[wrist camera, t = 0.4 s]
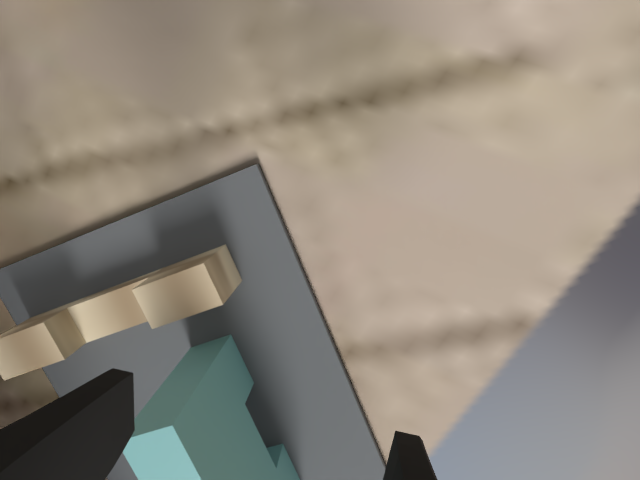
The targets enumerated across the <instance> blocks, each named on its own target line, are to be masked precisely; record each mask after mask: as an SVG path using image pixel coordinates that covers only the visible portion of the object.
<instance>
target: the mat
mask: <svg viewBox="0 0 640 480" xmlns="http://www.w3.org/2000/svg"><path fill="white" fill-rule="evenodd" d="M225 244H226V246H227V248H228V250H229V252H230V255H231V257H232V259H233V261H234V263H235V266H236V268H237V270H238V272H239V274H240V277H241V279H242V282H241V283H240V284H239V285H238V287H237V288H236V289H235V290H234V292H233V293H232V294H231V295H230V297H229V298H228V299H227V300H226V302H225V303H224V304H223V305H221V306H218V307H215V308H212V309H209V310H206V311H203V312H201V313H198V314H195V315H192V316H189V317H186V318H183V319H180V320H178V321H175V322H172V323H169V324H166V325H163V326H160V327H157V328H154V329H152V328H151V326H150V324H149V322H148V321H147V322H144V323H142V324H139V325H136V326H133V327H130V328H127V329H124V330H122V331H119V332H116V333H113V334H110V335H107V336H105V337H102V338H99V339H96V340H93V341H90V342H87V343H86V344H84V345H83V346H82V347H80V348H79V349H78V350H76V351H75V352H74V353H73V354H71V355H70V356H69V357H67V358H66V359H65V360H62V361H59V362H56V363H53V364H51V365H48V366H45V367H42V369H43V371H44V372H45V374H46V376H47V377H48V379H49V381H50V382H51V384H52V386H53V387H54V389H55V391H56V392H57V394H58V396H59V398H60V397H62V396H64V395H66V394H67V393H69V392H71V391H73V390H74V389H76V388H78V387H80V386H81V385H83V384H85V383H87V382H88V381H90V380H92V379H94V378H95V377H97V376H99V375H101V374H103V373H104V372H106V371H108V370H110V369H112V368H114V369H119V370H123V371H128V372H132V373H133V378H134V419H135V418H136V417H137V415H138V414H139V413H140V411H141V410H142V409H143V408H144V406H145V405H146V404H147V403H148V401H149V400H150V399H151V398H152V396H153V395H154V394H155V392H156V391H157V390H158V389H159V387H160V386H161V385H162V384H163V382H164V381H165V380H166V378H167V377H168V376H169V375H170V373H171V372H172V371H173V370H174V368H175V367H176V366H177V365H178V363H179V362H180V361H181V359H182V358H183V357H184V356H185V354H186V353H187V352H188V351H189V349H190V348H191V347H194V346H197V345H200V344H203V343H206V342H209V341H212V340H215V339H218V338H221V337H224V336H227V335H230V334H231V335H232V338H233V340H234V342H235V344H236V346H237V348H238V350H239V352H240V354H241V356H242V359H243V361H244V363H245V365H246V367H247V369H248V371H249V373H250V375H251V378H252V380H253V382H254V384H253V386H252V389H251V391H250V393H249V396H248V398H247V400H246V403H245V405H246V407H247V409H248V411H249V413H250V415H251V417H252V420H253V422H254V424H255V426H256V428H257V430H258V432H259V434H260V436H261V438H262V440H263V442H264V444H265V446H266V448H269V447H272V446H276V445H280V444H283V445H284V447H285V449H286V451H287V453H288V455H289V457H290V459H291V462H292V464H293V466H294V468H295V470H296V472H297V474H298V476H299V478H300V480H383V477H384V473H385V469H386V465H385V463H384V461H383V458H382V456H381V454H380V451H379V449H378V446H377V444H376V442H375V439H374V437H373V435H372V432H371V430H370V427H369V425H368V423H367V420H366V418H365V416H364V413H363V411H362V408H361V406H360V404H359V401H358V399H357V396H356V394H355V392H354V389H353V387H352V385H351V382H350V380H349V377H348V375H347V373H346V370H345V368H344V366H343V363H342V361H341V358H340V356H339V354H338V351H337V349H336V347H335V344H334V342H333V339H332V337H331V335H330V332H329V330H328V328H327V325H326V323H325V320H324V318H323V316H322V313H321V311H320V309H319V306H318V304H317V301H316V299H315V297H314V294H313V292H312V290H311V287H310V285H309V282H308V280H307V278H306V275H305V273H304V271H303V268H302V266H301V263H300V261H299V259H298V256H297V254H296V252H295V249H294V247H293V244H292V242H291V240H290V237H289V235H288V233H287V230H286V228H285V225H284V223H283V221H282V218H281V216H280V214H279V211H278V209H277V206H276V204H275V202H274V199H273V197H272V195H271V192H270V190H269V187H268V185H267V183H266V180H265V178H264V176H263V173H262V171H261V168H260V166H259V164H255V165H253V166H250V167H248V168H246V169H243V170H241V171H238V172H236V173H233V174H231V175H228V176H226V177H224V178H221V179H219V180H216V181H214V182H211V183H209V184H206V185H204V186H202V187H199V188H197V189H194V190H192V191H189V192H187V193H184V194H182V195H180V196H177V197H175V198H172V199H170V200H167V201H165V202H162V203H160V204H158V205H155V206H153V207H150V208H148V209H145V210H143V211H140V212H138V213H136V214H133V215H131V216H128V217H126V218H123V219H121V220H118V221H116V222H114V223H111V224H109V225H106V226H104V227H101V228H99V229H96V230H94V231H92V232H89V233H87V234H84V235H82V236H79V237H77V238H74V239H72V240H70V241H67V242H65V243H62V244H60V245H57V246H55V247H52V248H50V249H48V250H45V251H43V252H40V253H38V254H35V255H33V256H30V257H28V258H26V259H23V260H21V261H18V262H16V263H13V264H11V265H8V266H6V267H4V268H1V269H0V298H1V299H2V301H3V303H4V305H5V306H6V308H7V310H8V311H9V313H10V315H11V316H12V318H13V320H14V321H15V323H16V325H19V324H20V323H22V322H24V321H26V320H27V319H29V318H31V317H34V316H36V315H39V314H42V313H44V312H47V311H50V310H52V309H55V308H58V307H60V306H63V305H66V304H68V303H71V302H74V301H76V300H79V299H82V298H84V297H87V296H90V295H92V294H95V293H98V292H100V291H103V290H106V289H108V288H111V287H114V286H116V285H119V284H122V283H124V282H127V281H130V280H132V279H135V278H138V277H140V276H143V275H146V274H148V273H151V272H154V271H156V270H159V269H162V268H164V267H167V266H170V265H172V264H175V263H177V262H180V261H183V260H185V259H188V258H191V257H193V256H196V255H199V254H201V253H204V252H207V251H209V250H212V249H215V248H217V247H220V246H223V245H225ZM107 479H108V480H138V478H137V476H136V475H135V473H134V471H133V470H132V468H131V466H130V464H129V463H128V461H127V459H126V457H125V456H124V454H123V452H122V454H121V455H120V457H119V459H118V461H117V462H116V464H115V466H114V467H113V469H112V470H111V471H110V473H109V474H108V476H107Z"/></svg>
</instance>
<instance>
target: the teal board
mask: <svg viewBox="0 0 640 480" xmlns="http://www.w3.org/2000/svg"><path fill="white" fill-rule="evenodd" d="M253 384H254V382H253V380H252V378H251V375H250V373H249V371H248V369H247V367H246V365H245V363H244V361H243V359H242V356H241V354H240V352H239V350H238V348H237V346H236V344H235V342H234V340H233V338H232V335H231V334H230V335H227V336H224V337H221V338H218V339H215V340H212V341H209V342H206V343H203V344H200V345H197V346H194V347H191V348H190V349H189V351H188V352H187V353H186V354H185V356H184V357H183V358H182V359H181V361H180V362H179V363H178V365H177V366H176V367H175V368H174V370H173V371H172V372H171V373H170V375H169V376H168V377H167V378H166V380H165V381H164V382H163V384H162V385H161V386H160V387H159V389H158V390H157V391H156V392H155V394H154V395H153V396H152V398H151V399H150V400H149V401H148V403H147V404H146V405H145V406H144V408H143V409H142V410H141V411H140V413H139V414H138V415H137V417H136V418H135V419H134V423H135V431H134V432H133V434H132V436H131V438H130V440H129V441H128V443H127V445H126V447H125V449H124V450H123V454H124V456H125V457H126V459H127V461H128V463H129V464H130V466H131V468H132V470H133V471H134V473H135V475H136V476H137V478H138V480H300V478H299V476H298V474H297V472H296V470H295V468H294V466H293V464H292V462H291V459H290V457H289V455H288V453H287V451H286V449H285V447H284V445H283V444H280V445H276V446H272V447H269V448H266V446H265V444H264V442H263V440H262V438H261V436H260V434H259V432H258V430H257V428H256V426H255V424H254V422H253V420H252V417H251V415H250V413H249V411H248V409H247V407H246V405H245V403H246V400H247V398H248V396H249V393H250V391H251V389H252V386H253Z"/></svg>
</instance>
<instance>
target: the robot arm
mask: <svg viewBox="0 0 640 480" xmlns="http://www.w3.org/2000/svg"><path fill="white" fill-rule="evenodd" d="M134 431H135V423H134V378H133V373H132V372H128V371H123V370H119V369H114V368H112V369H110V370H108V371H106V372H104V373H103V374H101V375H99V376H97V377H95V378H94V379H92V380H90V381H88V382H87V383H85V384H83V385H81V386H80V387H78V388H76V389H74V390H73V391H71V392H69V393H67V394H66V395H64V396H62V397H60V398H58V399H57V400H55V401H53V402H51V403H49V404H48V405H46V406H44V407H42V408H40V409H39V410H37V411H35V412H33V413H31V414H29V415H28V416H26V417H24V418H22V419H20V420H18V421H16V422H14V423H12V424H10V425H8V426H6V427H4V428H2V429H0V480H105V478H106V477H107V476H108V474H109V473H110V471H111V470H112V469H113V467H114V466H115V464H116V462H117V461H118V459H119V457H120V455H121V454H122V452H123V450H124V449H125V447H126V445H127V443H128V441H129V440H130V438H131V436H132V434H133V432H134ZM383 480H437V478H436V476H435V473H434V470H433V468H432V465H431V463H430V460H429V458H428V455H427V452H426V450H425V447H424V444H423V441H422V439H421V438H420V437H419V436H416V435H412V434H407V433H403V432H398V431H395V435H394V439H393V442H392V446H391V450H390V454H389V458H388V462H387V465H386V469H385V473H384V477H383Z"/></svg>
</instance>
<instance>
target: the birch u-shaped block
mask: <svg viewBox="0 0 640 480" xmlns="http://www.w3.org/2000/svg"><path fill="white" fill-rule="evenodd" d="M241 282H242V279H241V277H240V274H239V272H238V270H237V268H236V266H235V263H234V261H233V259H232V257H231V255H230V252H229V250H228V248H227V246H226V244H225V245H223V246H220V247H217V248H215V249H212V250H209V251H207V252H204V253H201V254H199V255H196V256H193V257H191V258H188V259H185V260H183V261H180V262H177V263H175V264H172V265H170V266H167V267H164V268H162V269H159V270H156V271H154V272H151V273H148V274H146V275H143V276H140V277H138V278H135V279H132V280H130V281H127V282H124V283H122V284H119V285H116V286H114V287H111V288H108V289H106V290H103V291H100V292H98V293H95V294H92V295H90V296H87V297H84V298H82V299H79V300H76V301H74V302H71V303H68V304H66V305H63V306H60V307H58V308H55V309H52V310H50V311H47V312H44V313H42V314H39V315H36V316H34V317H31V318H29V319H27V320H26V321H24V322H22V323H20V324H19V325H17V326H15V327H13V328H11V329H10V330H8V331H6V332H4V333H3V334H1V335H0V375H1V376H2V378H3V380H7V379H10V378H13V377H16V376H19V375H22V374H25V373H27V372H30V371H33V370H36V369H39V368H42V367H45V366H48V365H51V364H53V363H56V362H59V361H62V360H65V359H66V358H67V357H69V356H70V355H71V354H73V353H74V352H75V351H76V350H78V349H79V348H80V347H82V346H83V345H84V344H86V343H87V342H90V341H93V340H96V339H99V338H102V337H105V336H107V335H110V334H113V333H116V332H119V331H122V330H124V329H127V328H130V327H133V326H136V325H139V324H142V323H144V322H147V321H148V322H149V324H150V326H151V328H152V329H154V328H157V327H160V326H163V325H166V324H169V323H172V322H175V321H178V320H180V319H183V318H186V317H189V316H192V315H195V314H198V313H201V312H203V311H206V310H209V309H212V308H215V307H218V306H221V305H223V304H224V303H225V302H226V300H227V299H228V298H229V297H230V295H231V294H232V293H233V292H234V290H235V289H236V288H237V287H238V285H239V284H240V283H241Z"/></svg>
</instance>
